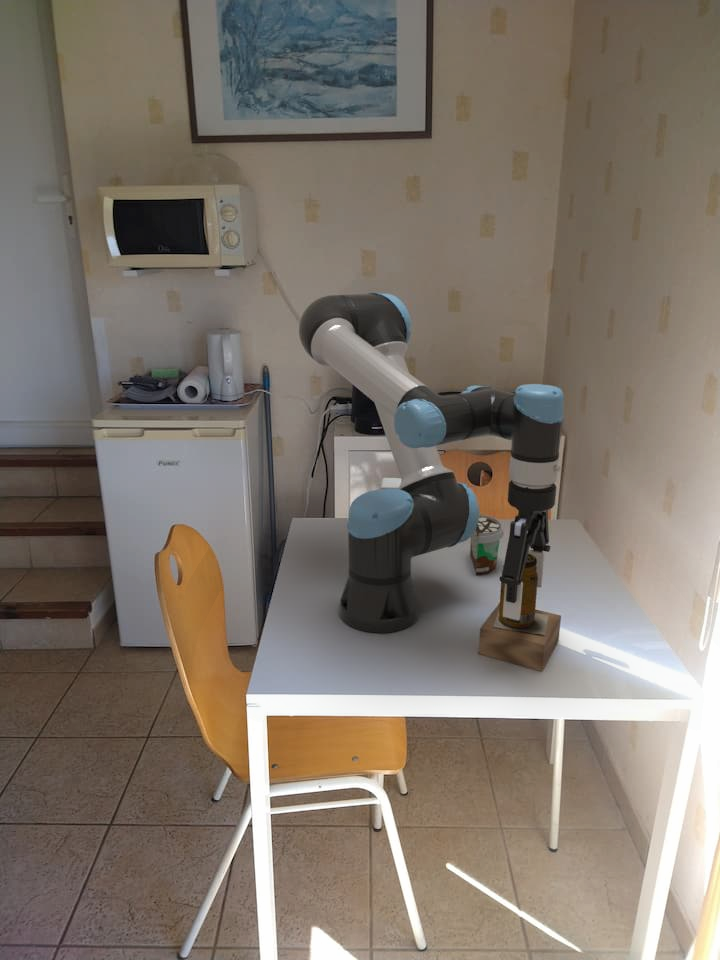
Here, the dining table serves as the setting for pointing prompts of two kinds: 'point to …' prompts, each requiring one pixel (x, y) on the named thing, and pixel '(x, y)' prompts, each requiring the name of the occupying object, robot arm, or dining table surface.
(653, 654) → the dining table surface
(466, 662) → the dining table surface
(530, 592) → the condiment
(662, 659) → the dining table surface
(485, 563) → the food container
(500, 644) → the walnut block
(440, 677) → the dining table surface
